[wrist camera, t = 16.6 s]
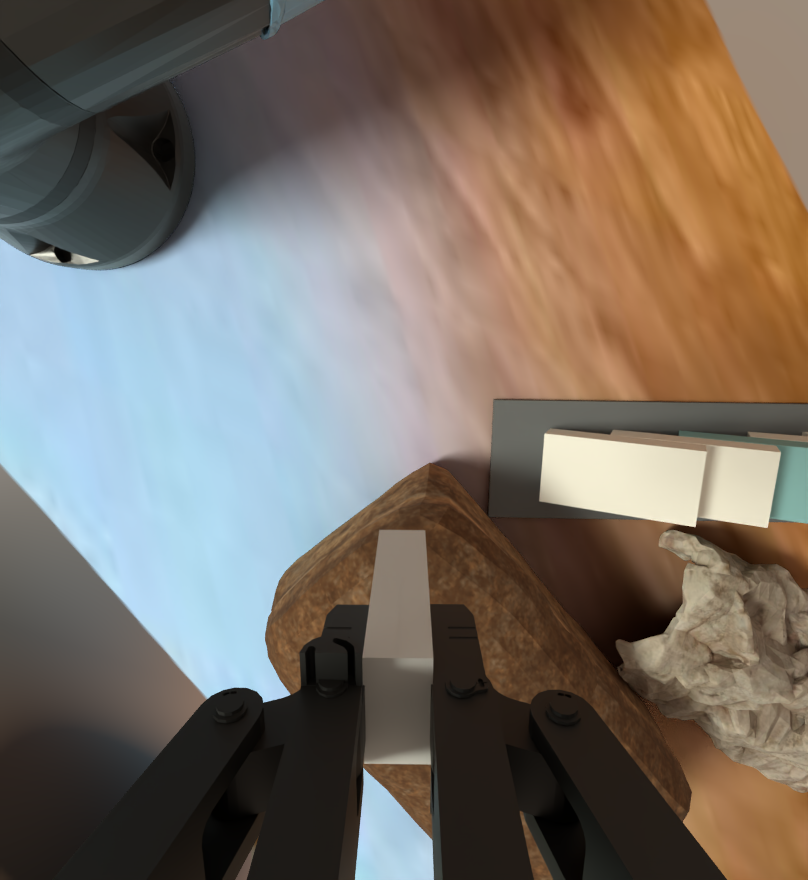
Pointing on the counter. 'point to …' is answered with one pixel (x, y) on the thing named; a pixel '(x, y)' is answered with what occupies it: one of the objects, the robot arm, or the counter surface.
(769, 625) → the rock
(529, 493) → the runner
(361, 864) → the counter surface
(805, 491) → the teal domino
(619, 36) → the counter surface
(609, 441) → the domino
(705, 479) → the domino
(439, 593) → the bread
